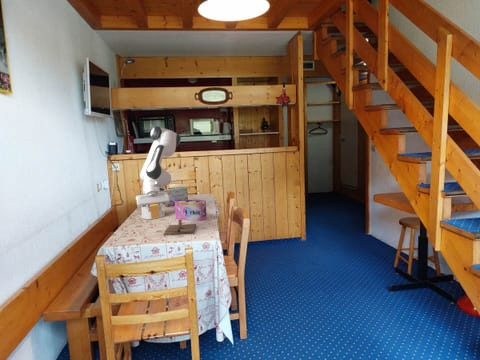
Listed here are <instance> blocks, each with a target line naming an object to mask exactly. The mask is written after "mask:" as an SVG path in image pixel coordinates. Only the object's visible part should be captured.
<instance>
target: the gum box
mask: <svg viewBox="0 0 480 360" xmlns="http://www.w3.org/2000/svg"><path fill="white" fill-rule="evenodd" d="M174 208H175V209H174V211H175V220H184V221H196V220H197V221H199V222H202V221H205V220H206V218H207V219H208V216H207V203H206V200H203V199H201V200H200V199H188V200H178V201H175V206H174Z"/></svg>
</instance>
